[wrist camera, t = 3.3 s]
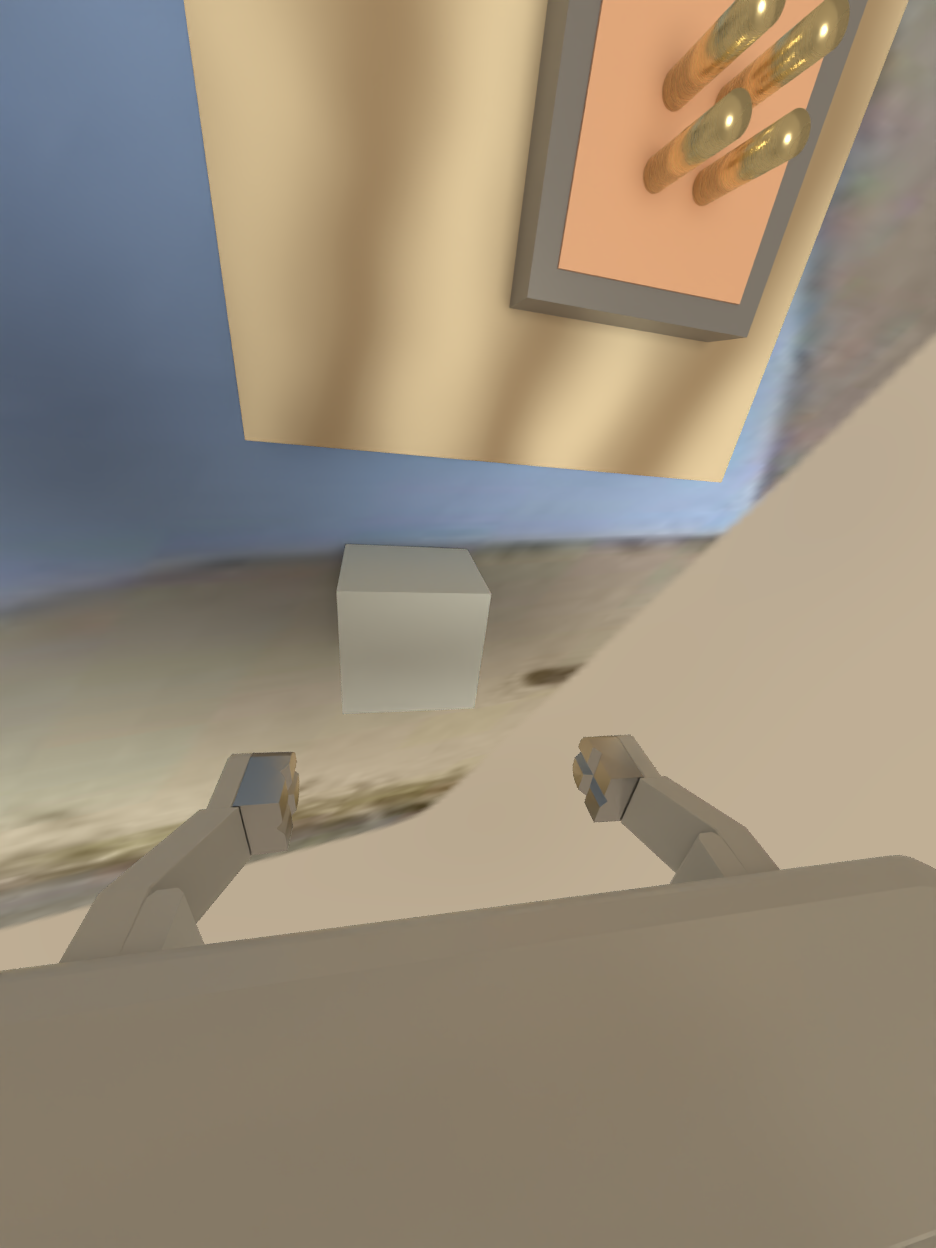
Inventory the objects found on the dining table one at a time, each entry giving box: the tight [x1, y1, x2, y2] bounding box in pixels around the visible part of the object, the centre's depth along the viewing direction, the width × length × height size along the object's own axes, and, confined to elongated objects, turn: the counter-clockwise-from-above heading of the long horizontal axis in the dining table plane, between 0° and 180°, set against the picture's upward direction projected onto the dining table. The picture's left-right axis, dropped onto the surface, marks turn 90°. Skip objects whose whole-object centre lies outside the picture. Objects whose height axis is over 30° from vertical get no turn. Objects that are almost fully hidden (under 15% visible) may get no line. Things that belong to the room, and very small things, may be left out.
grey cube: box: [337, 544, 491, 714], centre depth 19 cm, size 6×6×5 cm
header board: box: [184, 0, 908, 482], centre depth 12 cm, size 20×14×7 cm
